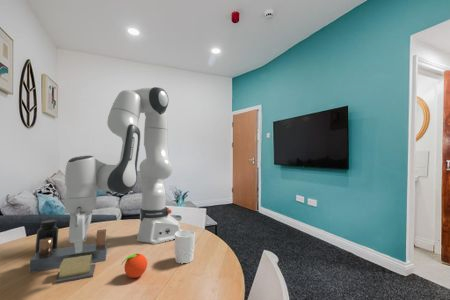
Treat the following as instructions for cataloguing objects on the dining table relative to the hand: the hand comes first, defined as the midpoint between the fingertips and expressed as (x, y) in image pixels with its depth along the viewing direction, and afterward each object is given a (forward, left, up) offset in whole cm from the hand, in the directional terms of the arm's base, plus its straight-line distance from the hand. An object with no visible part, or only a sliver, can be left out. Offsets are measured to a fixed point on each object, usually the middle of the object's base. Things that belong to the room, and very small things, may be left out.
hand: (81, 246), depth 71 cm
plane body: (+4, -11, -9) cm, 14 cm away
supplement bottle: (+15, -25, -9) cm, 30 cm away
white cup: (-34, +4, -9) cm, 35 cm away
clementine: (-16, +9, -9) cm, 21 cm away
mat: (+1, 0, -9) cm, 9 cm away
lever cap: (+1, 0, -8) cm, 8 cm away
